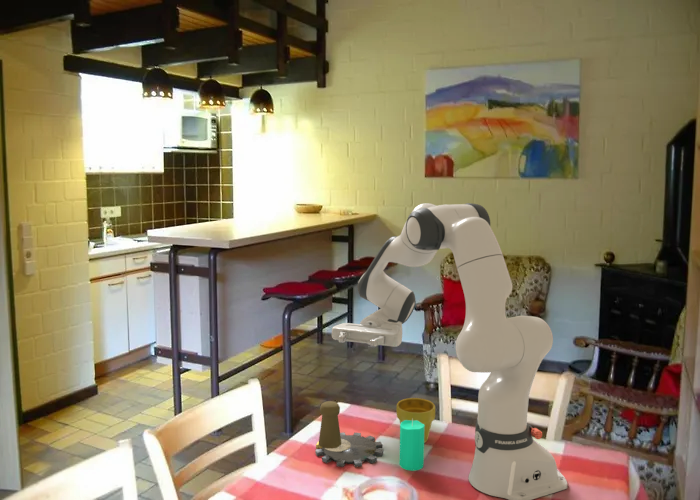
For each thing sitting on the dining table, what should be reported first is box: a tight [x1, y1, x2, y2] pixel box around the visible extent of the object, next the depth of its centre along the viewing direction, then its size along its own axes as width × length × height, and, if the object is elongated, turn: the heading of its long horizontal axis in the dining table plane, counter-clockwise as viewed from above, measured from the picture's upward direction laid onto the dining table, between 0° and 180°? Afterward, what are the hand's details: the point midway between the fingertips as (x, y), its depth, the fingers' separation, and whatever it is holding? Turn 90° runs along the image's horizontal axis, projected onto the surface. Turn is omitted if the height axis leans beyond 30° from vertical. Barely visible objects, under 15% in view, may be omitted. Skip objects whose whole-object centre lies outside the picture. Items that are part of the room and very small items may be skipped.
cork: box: [318, 400, 341, 448], centre depth 157 cm, size 6×6×11 cm
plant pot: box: [395, 397, 436, 444], centre depth 162 cm, size 10×10×10 cm
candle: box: [398, 418, 425, 472], centre depth 148 cm, size 6×6×12 cm
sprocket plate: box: [314, 432, 384, 468], centre depth 156 cm, size 18×18×1 cm
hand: (356, 341), depth 165 cm, fingers open, 8 cm apart
